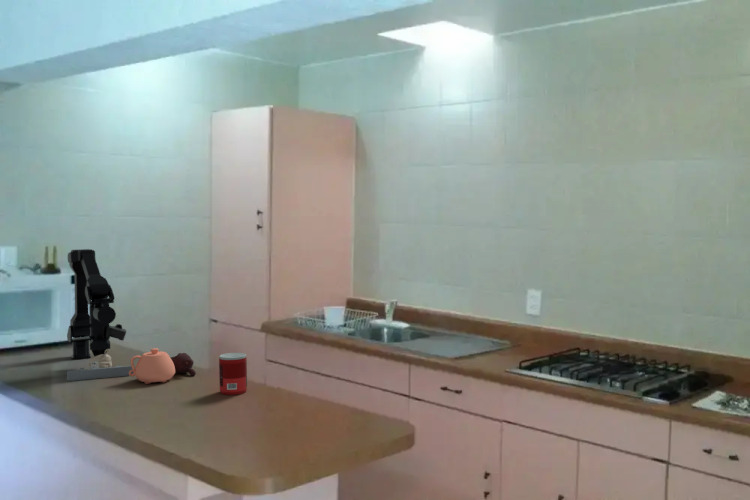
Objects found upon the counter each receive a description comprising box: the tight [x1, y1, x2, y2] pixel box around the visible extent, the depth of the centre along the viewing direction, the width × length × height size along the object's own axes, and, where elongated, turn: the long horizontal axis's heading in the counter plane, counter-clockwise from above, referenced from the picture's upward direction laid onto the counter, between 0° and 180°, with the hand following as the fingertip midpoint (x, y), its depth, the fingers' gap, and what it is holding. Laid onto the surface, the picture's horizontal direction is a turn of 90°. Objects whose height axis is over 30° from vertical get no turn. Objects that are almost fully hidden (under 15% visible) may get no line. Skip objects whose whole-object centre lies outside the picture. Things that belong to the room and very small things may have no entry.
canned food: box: [218, 352, 248, 396], centre depth 215 cm, size 8×8×11 cm
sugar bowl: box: [129, 347, 176, 385], centre depth 230 cm, size 12×14×10 cm
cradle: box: [66, 364, 133, 382], centre depth 237 cm, size 6×20×3 cm, turn 112°
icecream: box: [169, 352, 197, 377], centre depth 240 cm, size 7×7×15 cm
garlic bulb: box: [88, 349, 113, 369], centre depth 240 cm, size 7×6×8 cm
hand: (100, 365), depth 245 cm, fingers closed
